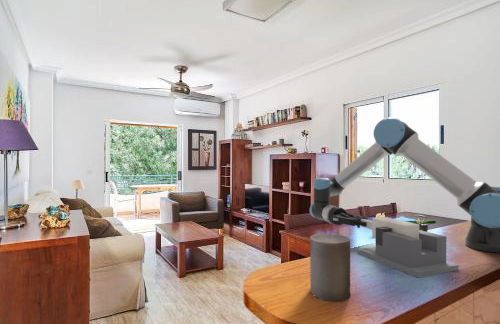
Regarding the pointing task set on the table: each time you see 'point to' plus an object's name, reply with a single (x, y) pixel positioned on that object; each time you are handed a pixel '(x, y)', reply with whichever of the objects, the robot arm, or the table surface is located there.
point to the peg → (396, 226)
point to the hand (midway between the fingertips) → (374, 226)
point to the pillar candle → (330, 266)
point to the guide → (410, 252)
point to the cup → (423, 227)
